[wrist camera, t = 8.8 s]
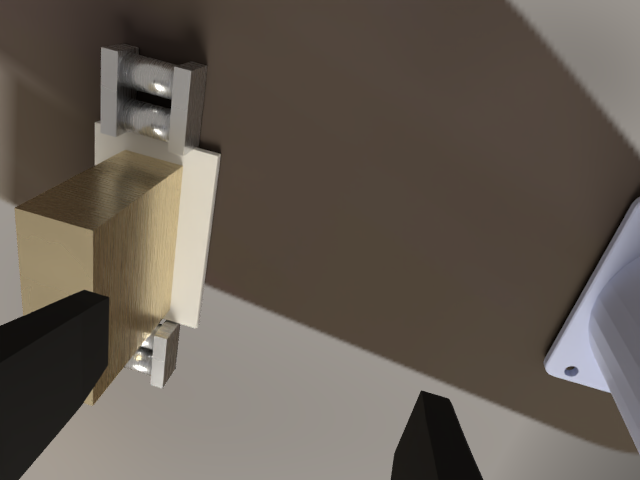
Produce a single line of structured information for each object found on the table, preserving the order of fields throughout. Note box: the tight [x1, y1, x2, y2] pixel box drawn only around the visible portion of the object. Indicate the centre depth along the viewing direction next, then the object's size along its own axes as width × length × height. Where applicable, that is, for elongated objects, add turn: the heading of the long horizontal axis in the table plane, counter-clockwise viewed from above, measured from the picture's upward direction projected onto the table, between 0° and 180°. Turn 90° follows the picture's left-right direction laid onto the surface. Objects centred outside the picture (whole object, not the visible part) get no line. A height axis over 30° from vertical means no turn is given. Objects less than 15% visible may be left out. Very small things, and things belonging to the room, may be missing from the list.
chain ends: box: [100, 43, 207, 388], centre depth 21 cm, size 3×15×1 cm, turn 168°
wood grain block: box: [15, 150, 183, 406], centre depth 18 cm, size 2×7×6 cm, turn 168°
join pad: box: [95, 121, 221, 328], centre depth 21 cm, size 5×8×1 cm, turn 168°
